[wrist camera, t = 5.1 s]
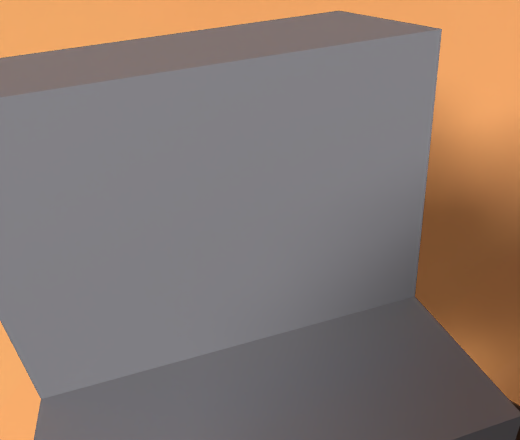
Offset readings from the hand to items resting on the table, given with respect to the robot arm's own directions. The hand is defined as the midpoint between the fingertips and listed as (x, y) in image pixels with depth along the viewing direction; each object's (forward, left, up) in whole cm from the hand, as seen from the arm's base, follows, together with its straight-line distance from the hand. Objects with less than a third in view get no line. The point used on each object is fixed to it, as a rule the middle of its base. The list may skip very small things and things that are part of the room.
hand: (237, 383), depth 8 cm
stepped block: (0, 0, -1) cm, 1 cm away
